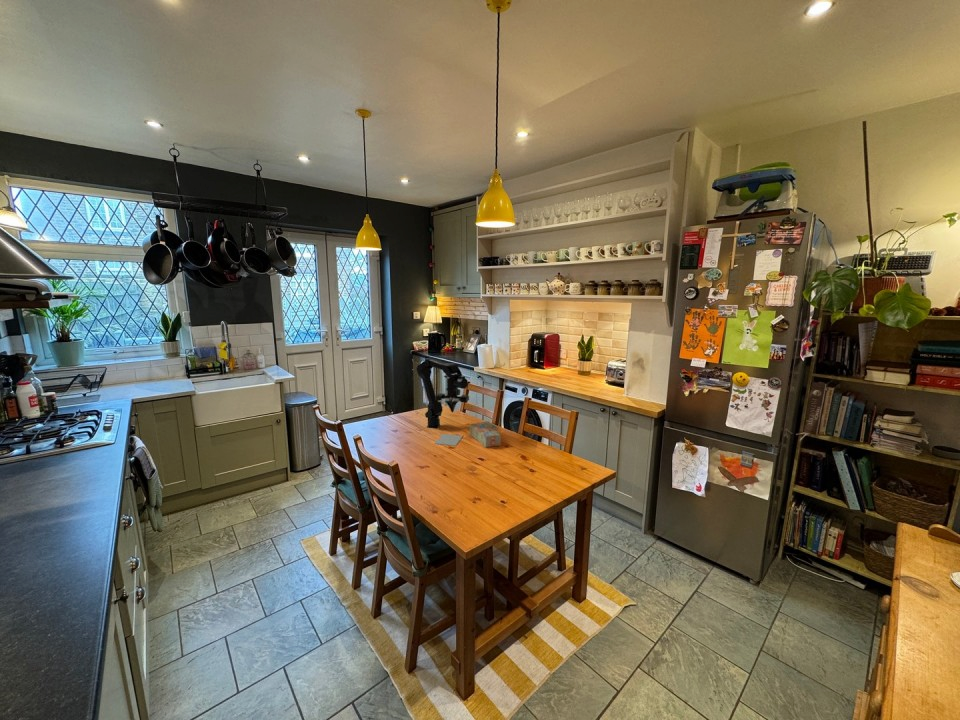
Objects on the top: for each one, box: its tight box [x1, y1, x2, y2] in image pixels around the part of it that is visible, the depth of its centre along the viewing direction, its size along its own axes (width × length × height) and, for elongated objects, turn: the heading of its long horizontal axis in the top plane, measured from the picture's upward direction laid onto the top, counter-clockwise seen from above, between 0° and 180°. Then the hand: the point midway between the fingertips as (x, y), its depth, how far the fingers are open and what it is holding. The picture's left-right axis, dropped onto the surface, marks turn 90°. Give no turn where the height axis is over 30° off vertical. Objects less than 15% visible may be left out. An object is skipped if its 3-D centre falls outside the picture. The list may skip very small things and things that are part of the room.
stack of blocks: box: [469, 420, 502, 448], centre depth 216 cm, size 21×6×12 cm
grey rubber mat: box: [434, 433, 463, 447], centre depth 215 cm, size 12×14×1 cm
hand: (452, 412), depth 222 cm, fingers closed
